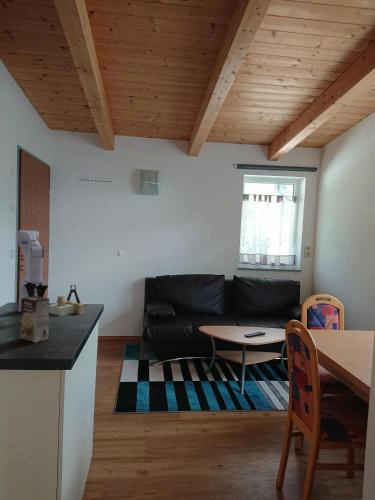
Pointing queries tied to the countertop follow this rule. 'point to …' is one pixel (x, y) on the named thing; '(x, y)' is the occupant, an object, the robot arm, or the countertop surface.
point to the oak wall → (76, 307)
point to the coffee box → (34, 318)
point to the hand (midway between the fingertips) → (35, 298)
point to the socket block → (61, 309)
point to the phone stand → (75, 294)
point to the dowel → (61, 301)
